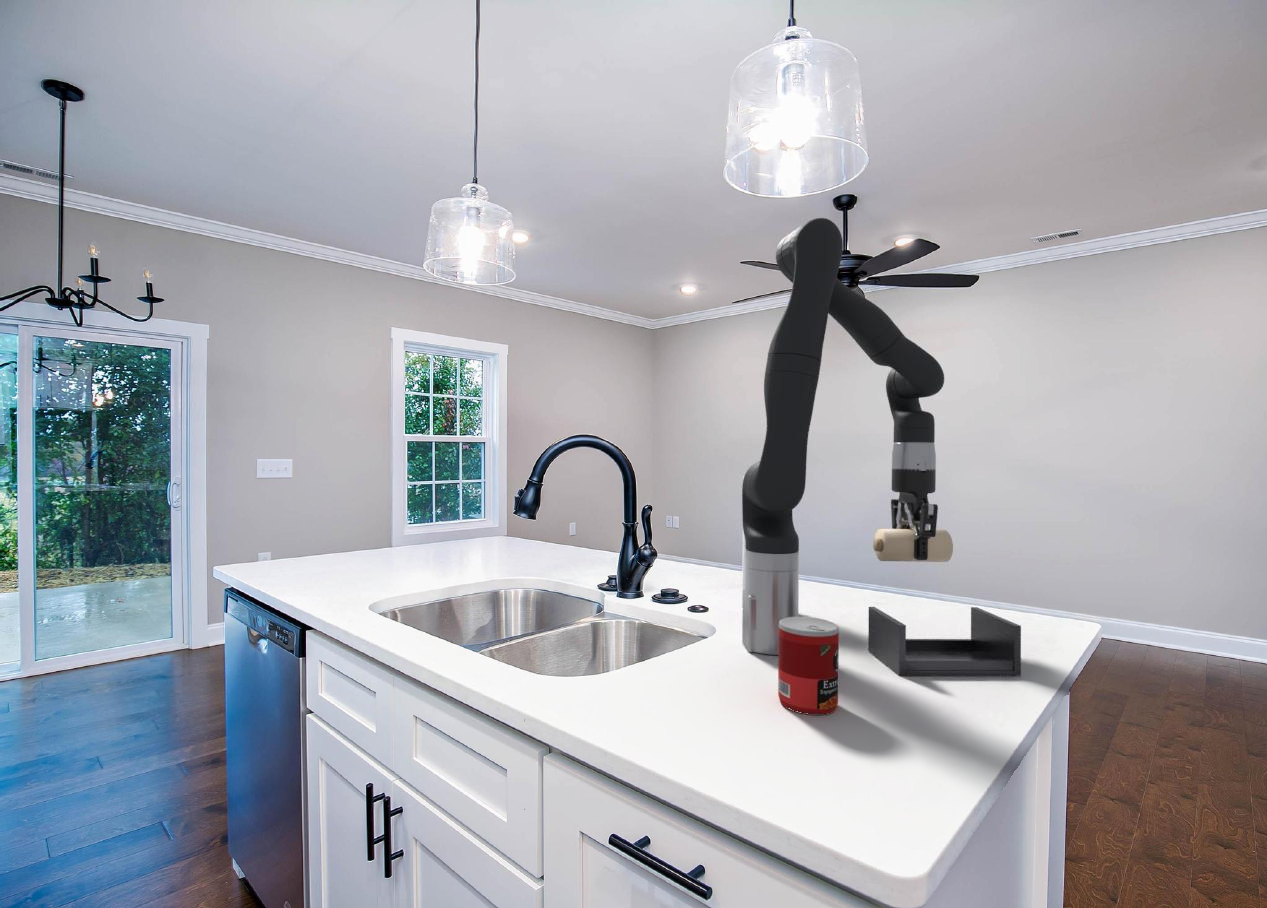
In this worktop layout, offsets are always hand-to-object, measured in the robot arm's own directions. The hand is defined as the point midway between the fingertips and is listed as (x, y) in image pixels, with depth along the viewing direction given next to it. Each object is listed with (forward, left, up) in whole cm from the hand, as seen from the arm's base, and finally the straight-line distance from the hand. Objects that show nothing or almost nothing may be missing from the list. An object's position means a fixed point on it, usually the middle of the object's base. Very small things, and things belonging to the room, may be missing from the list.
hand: (912, 556), depth 115 cm
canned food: (-29, -31, -16) cm, 45 cm away
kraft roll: (0, 0, -1) cm, 1 cm away
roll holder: (-2, -14, -15) cm, 21 cm away
